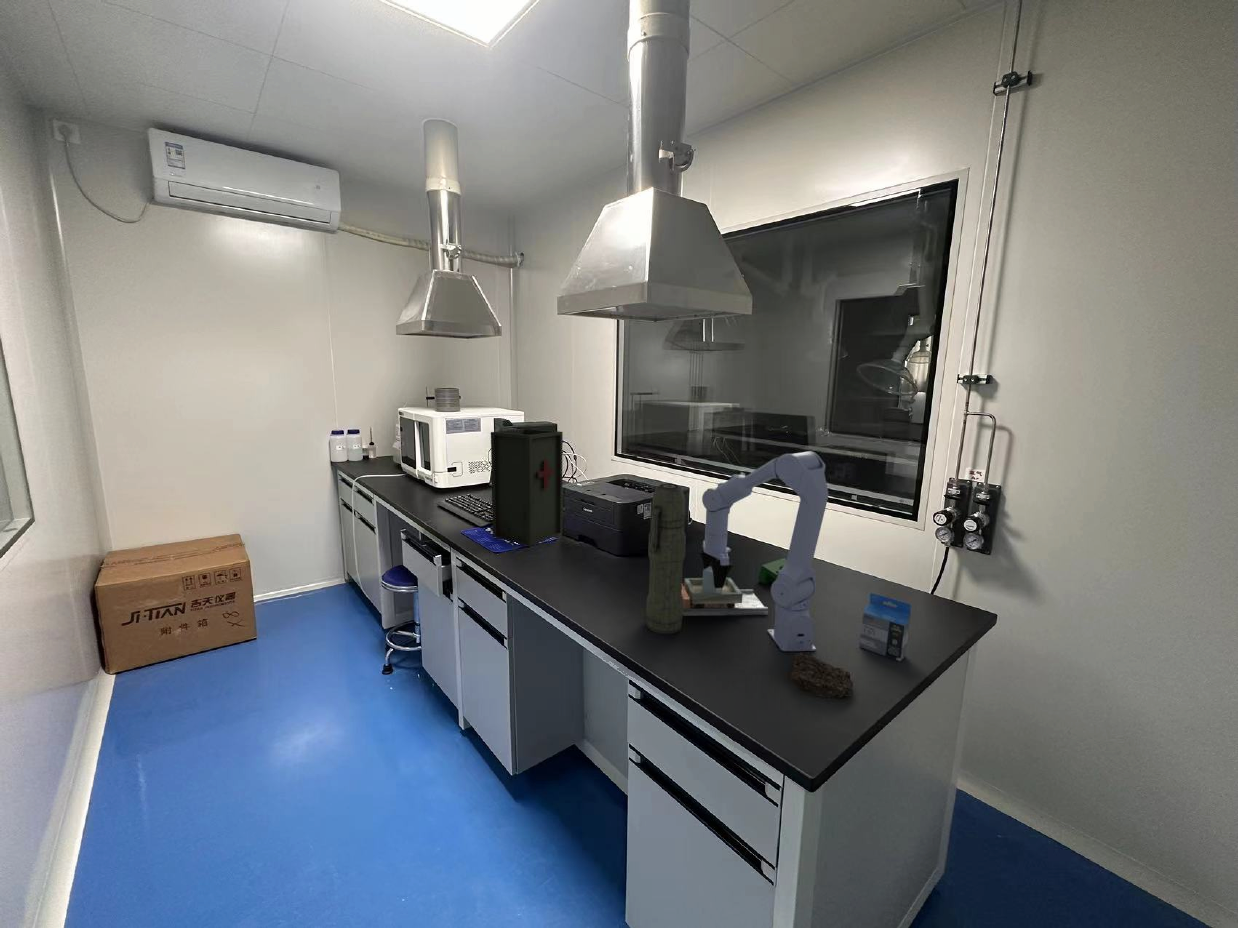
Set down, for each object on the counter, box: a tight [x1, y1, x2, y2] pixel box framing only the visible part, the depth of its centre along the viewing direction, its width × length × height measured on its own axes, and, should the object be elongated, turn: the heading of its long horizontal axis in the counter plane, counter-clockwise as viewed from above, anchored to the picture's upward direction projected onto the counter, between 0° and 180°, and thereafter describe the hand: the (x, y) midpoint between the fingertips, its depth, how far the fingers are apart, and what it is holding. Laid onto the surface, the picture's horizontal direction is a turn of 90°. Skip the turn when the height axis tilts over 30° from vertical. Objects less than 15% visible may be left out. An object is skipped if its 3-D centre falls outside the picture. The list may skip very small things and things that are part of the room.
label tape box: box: [859, 592, 912, 662], centre depth 114 cm, size 9×4×12 cm, turn 45°
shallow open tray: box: [683, 577, 743, 608], centre depth 137 cm, size 11×13×4 cm
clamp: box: [757, 557, 787, 585], centre depth 154 cm, size 12×6×9 cm, turn 122°
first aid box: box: [490, 428, 564, 548], centre depth 191 cm, size 18×18×40 cm
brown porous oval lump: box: [790, 652, 854, 699], centre depth 101 cm, size 12×10×5 cm
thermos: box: [645, 483, 687, 635], centre depth 123 cm, size 9×12×35 cm
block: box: [702, 566, 723, 593], centre depth 136 cm, size 4×4×6 cm
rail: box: [681, 583, 769, 617], centre depth 137 cm, size 12×22×4 cm, turn 94°
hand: (713, 581), depth 136 cm, fingers open, 7 cm apart
